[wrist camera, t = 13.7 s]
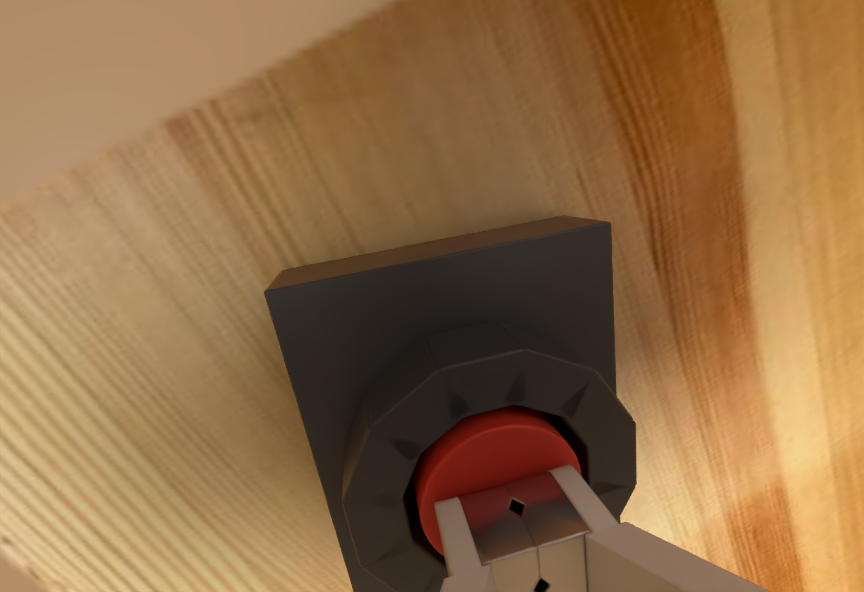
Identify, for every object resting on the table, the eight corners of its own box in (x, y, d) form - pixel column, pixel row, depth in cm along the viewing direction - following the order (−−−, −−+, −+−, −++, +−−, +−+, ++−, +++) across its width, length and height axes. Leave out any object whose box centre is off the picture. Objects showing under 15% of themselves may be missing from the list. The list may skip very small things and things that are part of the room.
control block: (280, 270, 10) (239, 318, 7) (565, 215, 11) (669, 229, 8) (362, 558, 13) (365, 706, 10) (583, 493, 14) (665, 603, 11)
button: (396, 405, 9) (405, 452, 8) (540, 369, 10) (579, 406, 8) (422, 524, 10) (435, 589, 9) (551, 487, 11) (587, 542, 9)
